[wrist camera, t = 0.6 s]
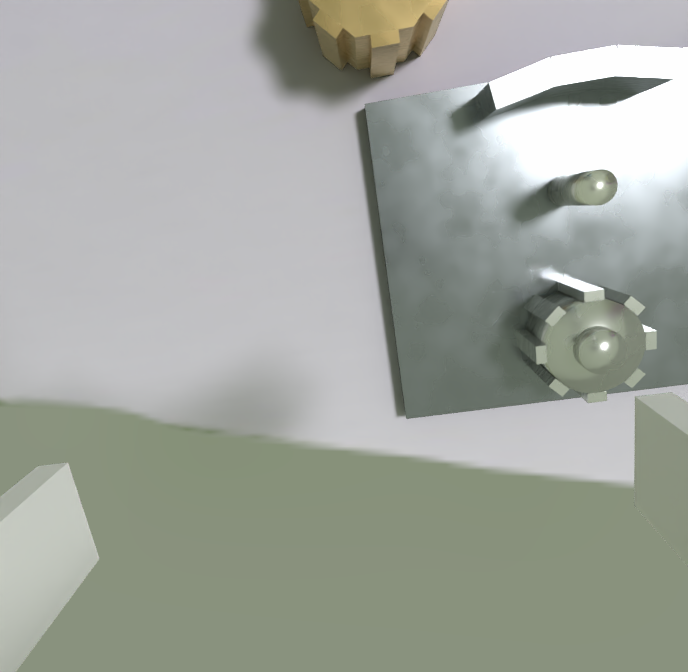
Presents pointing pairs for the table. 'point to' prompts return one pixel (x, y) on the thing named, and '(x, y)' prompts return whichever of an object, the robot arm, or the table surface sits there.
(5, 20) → the table surface
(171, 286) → the table surface
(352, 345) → the table surface
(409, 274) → the carrier
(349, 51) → the gear
